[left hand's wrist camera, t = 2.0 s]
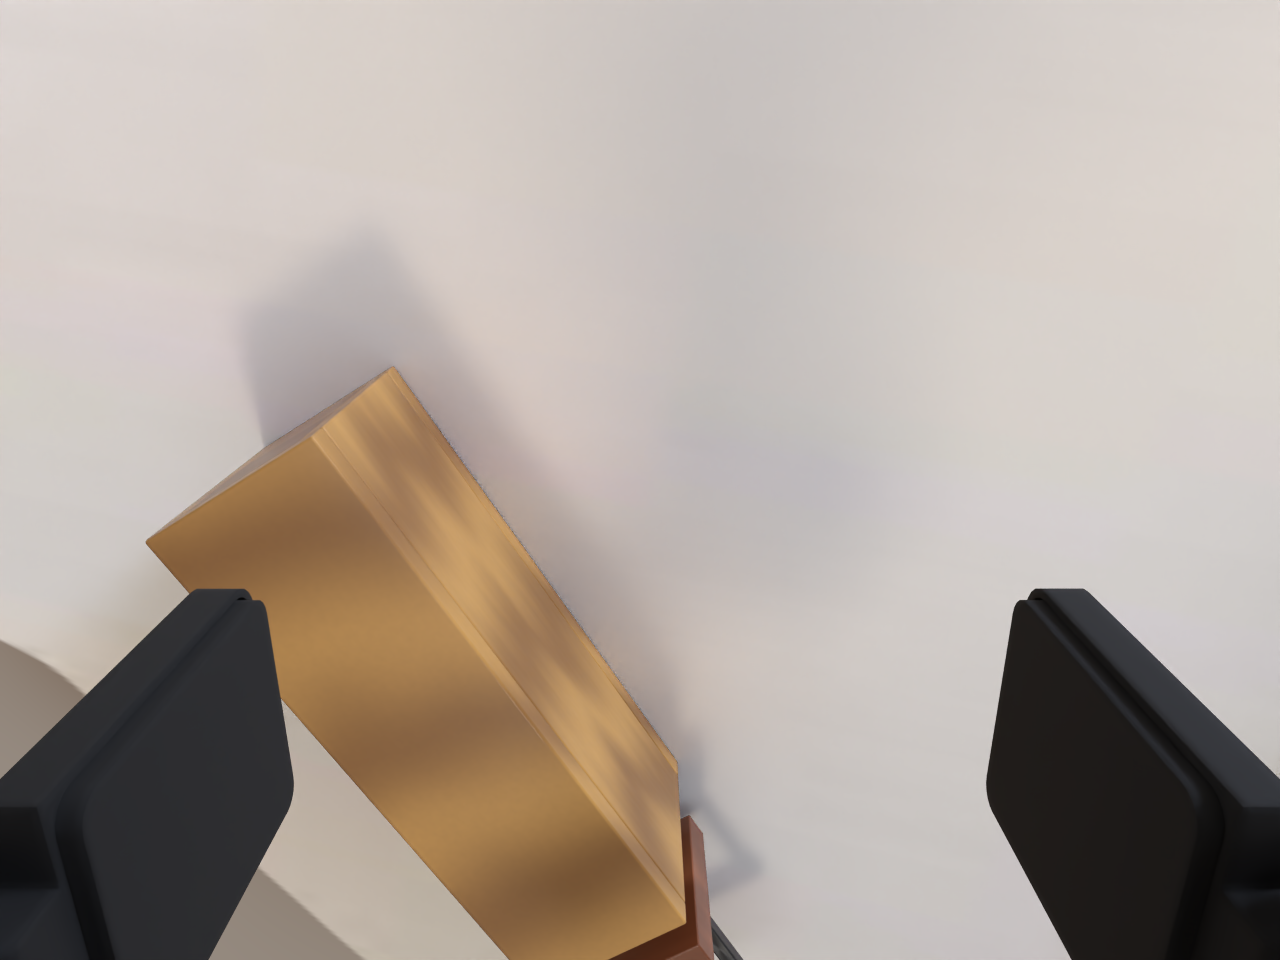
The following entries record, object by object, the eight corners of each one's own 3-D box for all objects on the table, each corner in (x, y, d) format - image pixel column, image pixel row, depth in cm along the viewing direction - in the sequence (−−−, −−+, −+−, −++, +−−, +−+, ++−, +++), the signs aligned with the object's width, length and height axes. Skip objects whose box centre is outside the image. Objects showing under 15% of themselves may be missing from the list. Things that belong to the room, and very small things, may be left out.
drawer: (769, 924, 40) (793, 1067, 34) (676, 966, 41) (682, 1114, 35) (444, 477, 33) (397, 554, 27) (338, 541, 34) (269, 629, 27)
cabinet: (677, 761, 38) (687, 924, 30) (558, 821, 39) (537, 993, 31) (393, 365, 32) (311, 435, 24) (262, 448, 34) (142, 542, 25)
